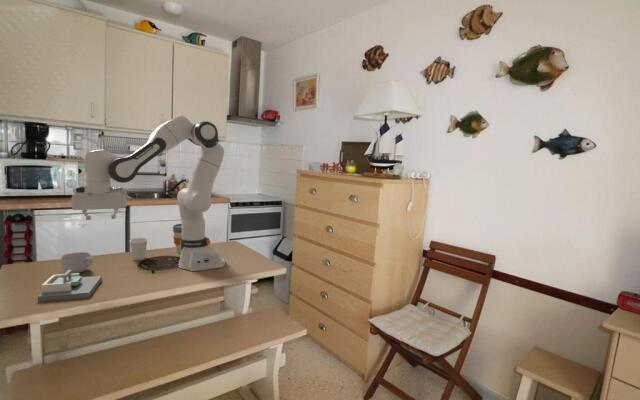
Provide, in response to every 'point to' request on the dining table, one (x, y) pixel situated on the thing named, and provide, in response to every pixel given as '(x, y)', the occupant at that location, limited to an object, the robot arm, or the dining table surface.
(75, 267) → the teacup
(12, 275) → the dining table surface
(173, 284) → the dining table surface
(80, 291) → the dock
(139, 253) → the dixie cup
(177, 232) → the reusable coffee cup
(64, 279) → the trolley
